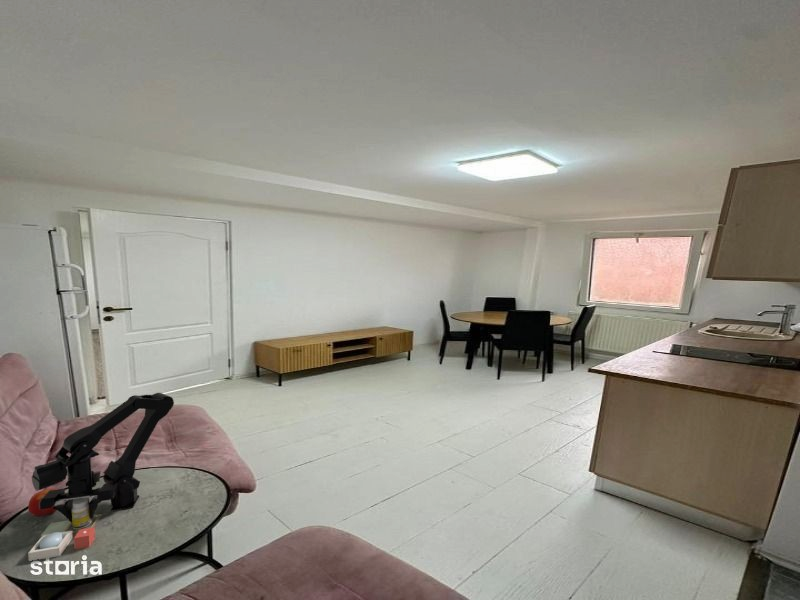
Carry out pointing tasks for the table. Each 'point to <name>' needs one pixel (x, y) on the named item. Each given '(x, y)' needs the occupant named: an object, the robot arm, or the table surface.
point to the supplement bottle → (80, 513)
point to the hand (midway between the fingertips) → (82, 519)
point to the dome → (51, 540)
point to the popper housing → (50, 552)
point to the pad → (56, 527)
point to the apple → (34, 504)
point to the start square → (90, 527)
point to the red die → (84, 538)
